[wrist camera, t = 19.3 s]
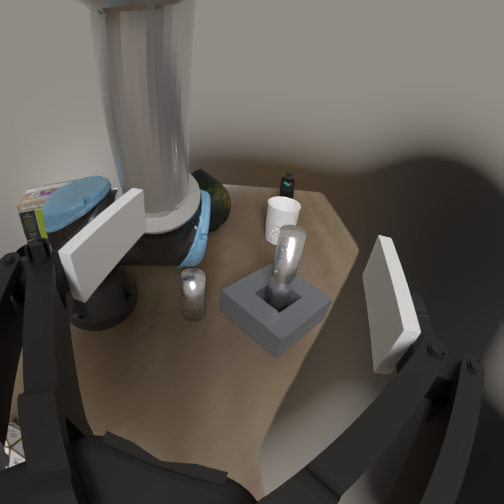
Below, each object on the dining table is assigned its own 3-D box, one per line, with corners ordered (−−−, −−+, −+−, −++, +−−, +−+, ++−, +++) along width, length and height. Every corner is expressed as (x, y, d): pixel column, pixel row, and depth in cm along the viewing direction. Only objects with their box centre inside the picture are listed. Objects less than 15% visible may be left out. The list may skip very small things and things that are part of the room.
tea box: (89, 230, 70) (81, 177, 61) (85, 252, 62) (74, 195, 54) (40, 236, 65) (28, 186, 56) (31, 259, 57) (15, 204, 49)
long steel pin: (258, 313, 54) (274, 229, 44) (273, 303, 57) (291, 222, 46) (274, 326, 52) (295, 242, 42) (288, 315, 55) (311, 233, 44)
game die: (46, 464, 26) (54, 473, 21) (2, 476, 20) (-1, 487, 14) (22, 411, 29) (23, 407, 24) (-22, 420, 22) (-32, 417, 17)
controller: (290, 200, 96) (296, 171, 90) (290, 217, 86) (296, 186, 80) (277, 197, 96) (282, 169, 90) (275, 215, 86) (281, 183, 80)
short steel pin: (178, 311, 52) (175, 273, 47) (196, 302, 55) (195, 264, 49) (191, 325, 50) (189, 287, 45) (209, 315, 52) (210, 277, 47)
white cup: (272, 227, 80) (277, 193, 75) (298, 238, 77) (305, 204, 72) (256, 239, 75) (261, 203, 69) (284, 251, 72) (292, 214, 66)
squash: (205, 230, 65) (228, 169, 66) (153, 215, 69) (175, 159, 71) (226, 243, 79) (244, 191, 80) (179, 229, 83) (197, 181, 84)
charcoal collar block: (220, 309, 54) (221, 289, 51) (272, 279, 63) (275, 260, 60) (275, 358, 46) (281, 339, 44) (324, 317, 55) (332, 299, 52)
